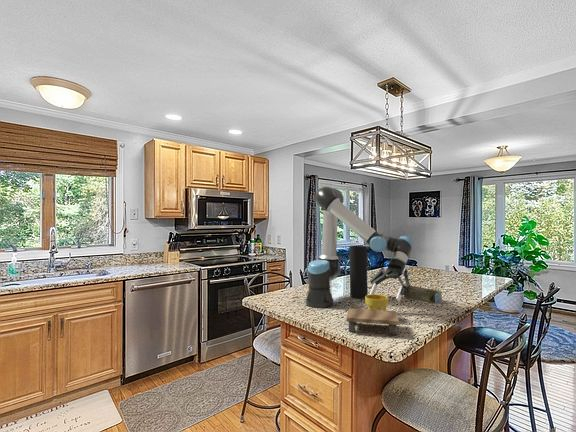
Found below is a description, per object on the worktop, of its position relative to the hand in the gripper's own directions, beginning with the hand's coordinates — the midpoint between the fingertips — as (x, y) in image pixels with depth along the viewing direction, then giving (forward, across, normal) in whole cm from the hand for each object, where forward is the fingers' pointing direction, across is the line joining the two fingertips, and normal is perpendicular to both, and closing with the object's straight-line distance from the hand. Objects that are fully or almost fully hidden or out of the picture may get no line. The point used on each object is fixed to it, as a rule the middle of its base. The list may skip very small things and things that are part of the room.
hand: (383, 298), depth 146 cm
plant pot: (+9, +2, -3) cm, 10 cm away
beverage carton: (-24, 0, -38) cm, 45 cm away
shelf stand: (+19, -5, +8) cm, 21 cm away
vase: (-12, +30, -24) cm, 41 cm away
